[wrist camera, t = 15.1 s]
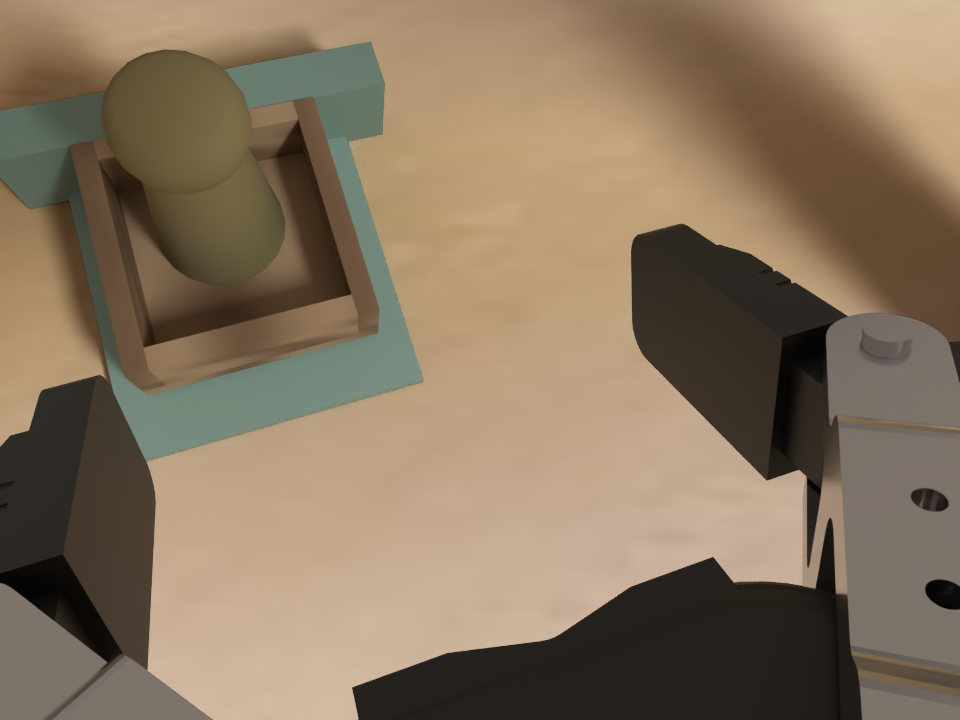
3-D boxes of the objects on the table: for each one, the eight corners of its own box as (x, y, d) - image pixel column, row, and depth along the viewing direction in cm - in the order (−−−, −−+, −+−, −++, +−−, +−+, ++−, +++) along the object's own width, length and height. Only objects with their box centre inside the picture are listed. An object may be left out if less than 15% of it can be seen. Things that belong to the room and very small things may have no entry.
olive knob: (296, 182, 39) (271, 40, 28) (272, 295, 37) (237, 188, 26) (172, 160, 38) (99, 5, 27) (142, 273, 36) (53, 155, 26)
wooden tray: (317, 138, 40) (313, 96, 37) (377, 333, 38) (379, 309, 34) (97, 184, 38) (69, 145, 34) (148, 395, 36) (123, 376, 32)
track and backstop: (369, 95, 42) (370, 41, 38) (459, 371, 39) (472, 347, 35) (20, 166, 38) (-25, 114, 34) (88, 477, 35) (49, 465, 31)
